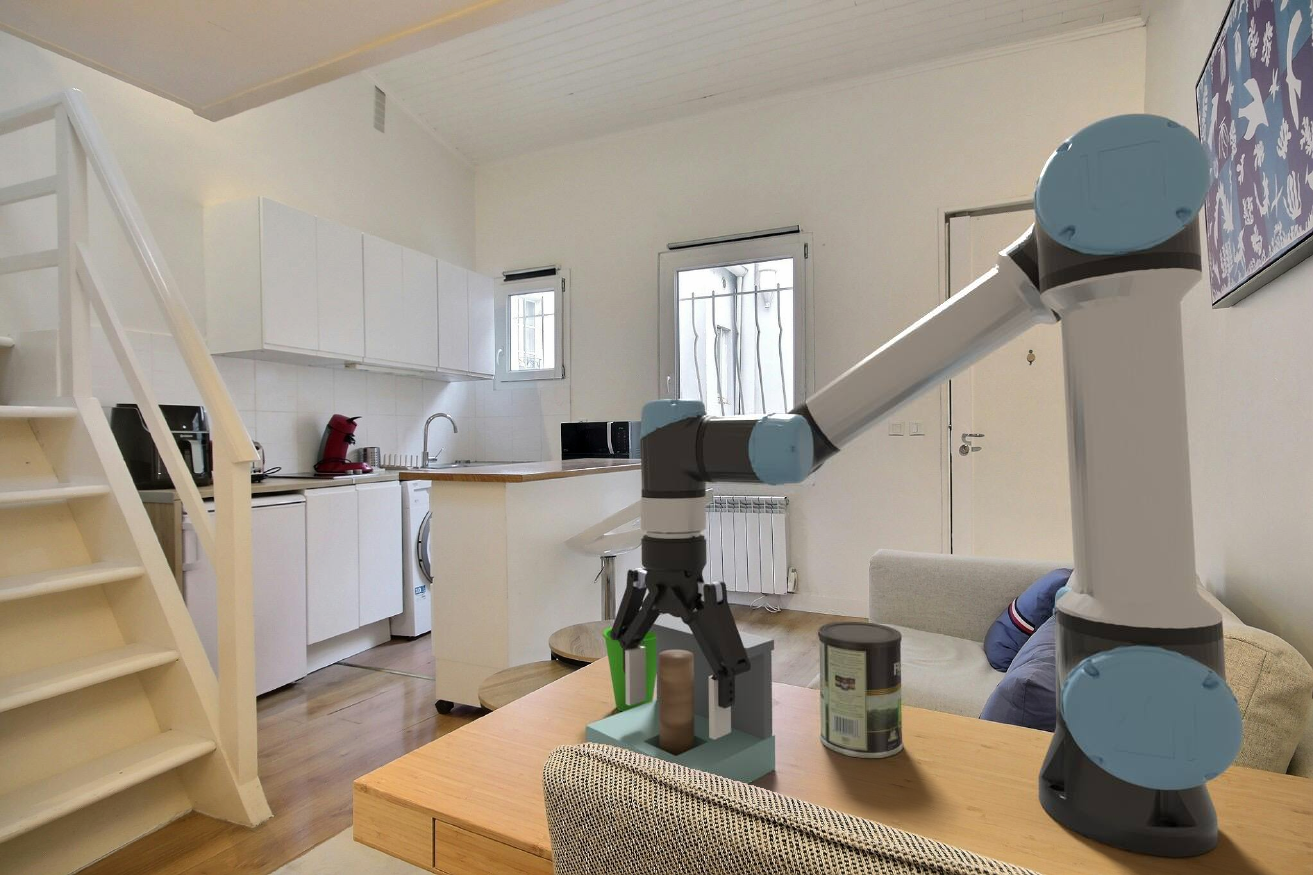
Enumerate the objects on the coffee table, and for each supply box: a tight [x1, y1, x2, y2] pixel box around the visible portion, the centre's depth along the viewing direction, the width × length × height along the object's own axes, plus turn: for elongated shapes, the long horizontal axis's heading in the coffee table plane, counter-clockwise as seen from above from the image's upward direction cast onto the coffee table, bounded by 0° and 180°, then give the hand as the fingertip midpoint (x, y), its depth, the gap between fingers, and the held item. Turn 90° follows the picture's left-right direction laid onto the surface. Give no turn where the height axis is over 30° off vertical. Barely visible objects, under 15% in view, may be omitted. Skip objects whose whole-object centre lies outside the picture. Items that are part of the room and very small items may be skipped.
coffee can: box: [817, 621, 904, 759], centre depth 89 cm, size 10×10×14 cm
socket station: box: [585, 614, 776, 785], centre depth 83 cm, size 18×14×15 cm
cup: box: [601, 626, 657, 712], centre depth 101 cm, size 9×9×11 cm
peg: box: [659, 650, 694, 756], centre depth 80 cm, size 4×4×14 cm
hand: (675, 717), depth 80 cm, fingers open, 13 cm apart
